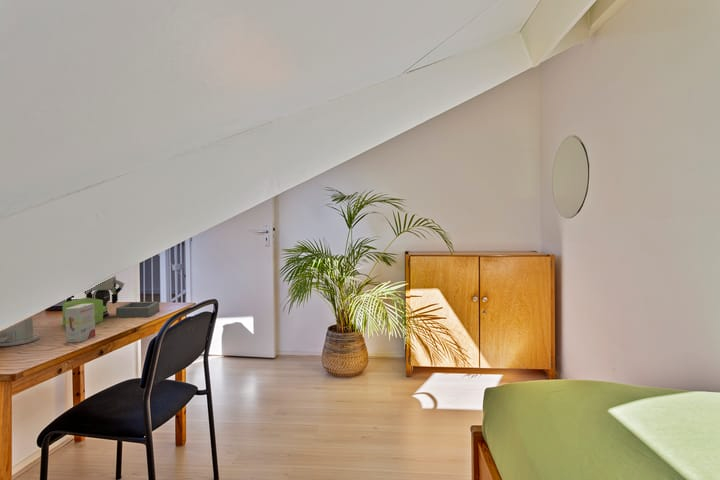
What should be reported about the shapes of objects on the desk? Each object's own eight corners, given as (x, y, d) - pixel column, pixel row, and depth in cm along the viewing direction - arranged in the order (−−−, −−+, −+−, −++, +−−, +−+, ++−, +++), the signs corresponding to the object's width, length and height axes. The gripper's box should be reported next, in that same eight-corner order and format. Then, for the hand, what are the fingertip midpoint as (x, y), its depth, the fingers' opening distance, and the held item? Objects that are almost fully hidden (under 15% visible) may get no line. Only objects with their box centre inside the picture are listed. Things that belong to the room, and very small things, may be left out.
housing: (148, 317, 173) (148, 307, 173) (116, 317, 171) (116, 308, 171) (159, 310, 186) (159, 301, 186) (129, 310, 184) (129, 302, 184)
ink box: (82, 335, 146) (81, 302, 145) (96, 335, 146) (95, 303, 145) (65, 342, 137) (64, 308, 137) (79, 342, 137) (78, 308, 137)
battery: (101, 318, 169) (101, 291, 169) (92, 318, 169) (92, 291, 169) (111, 314, 176) (111, 288, 176) (102, 314, 176) (102, 288, 176)
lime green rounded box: (73, 333, 150) (73, 308, 150) (51, 329, 152) (51, 305, 152) (112, 320, 168) (112, 297, 167) (92, 317, 170) (92, 295, 169)
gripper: (74, 264, 167) (75, 305, 168) (119, 264, 169) (120, 304, 170) (84, 262, 174) (84, 301, 175) (127, 262, 177) (127, 301, 178)
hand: (102, 303), depth 173 cm, fingers open, 9 cm apart
